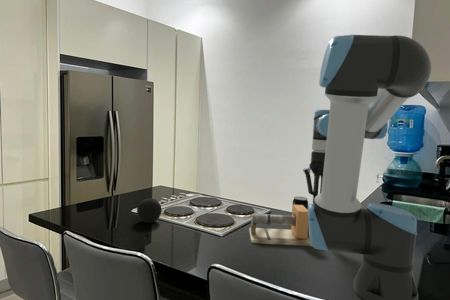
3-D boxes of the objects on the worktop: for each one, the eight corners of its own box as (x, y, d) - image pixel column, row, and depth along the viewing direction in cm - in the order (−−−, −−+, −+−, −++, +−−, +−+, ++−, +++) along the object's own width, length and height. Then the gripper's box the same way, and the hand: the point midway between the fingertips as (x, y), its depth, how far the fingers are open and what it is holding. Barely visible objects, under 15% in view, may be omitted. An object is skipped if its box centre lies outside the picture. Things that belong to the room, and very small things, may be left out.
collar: (301, 229, 131) (302, 205, 130) (307, 238, 121) (309, 211, 120) (291, 229, 131) (292, 204, 130) (296, 238, 121) (298, 211, 120)
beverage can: (306, 228, 140) (308, 200, 139) (291, 226, 142) (293, 198, 141) (306, 223, 147) (308, 197, 146) (291, 222, 148) (293, 195, 147)
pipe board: (305, 233, 133) (307, 211, 133) (315, 246, 119) (316, 222, 119) (249, 230, 133) (250, 208, 133) (251, 242, 120) (252, 218, 119)
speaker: (166, 221, 140) (166, 198, 139) (151, 227, 131) (152, 202, 130) (147, 217, 144) (147, 194, 144) (131, 223, 135) (132, 199, 134)
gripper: (336, 151, 127) (331, 211, 129) (302, 149, 127) (298, 209, 129) (342, 153, 120) (337, 216, 122) (306, 151, 120) (302, 214, 122)
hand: (317, 213), depth 126 cm, fingers closed
